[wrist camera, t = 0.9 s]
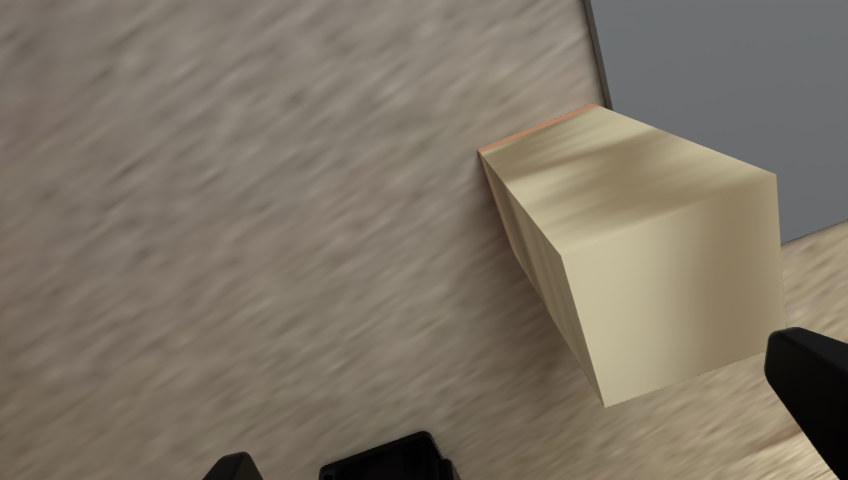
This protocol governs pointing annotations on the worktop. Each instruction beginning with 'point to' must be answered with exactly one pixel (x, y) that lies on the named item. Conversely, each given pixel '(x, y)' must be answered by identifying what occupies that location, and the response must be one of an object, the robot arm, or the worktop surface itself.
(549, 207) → the maple block
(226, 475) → the robot arm
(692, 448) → the worktop surface
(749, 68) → the rubber mat
